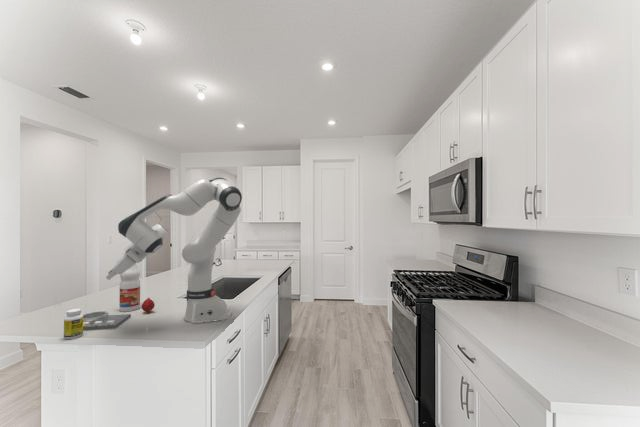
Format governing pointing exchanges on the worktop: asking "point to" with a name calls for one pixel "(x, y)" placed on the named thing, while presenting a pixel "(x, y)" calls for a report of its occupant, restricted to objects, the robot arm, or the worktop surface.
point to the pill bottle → (73, 324)
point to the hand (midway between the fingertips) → (108, 276)
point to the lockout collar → (95, 317)
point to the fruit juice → (130, 289)
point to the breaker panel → (107, 322)
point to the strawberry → (148, 305)
